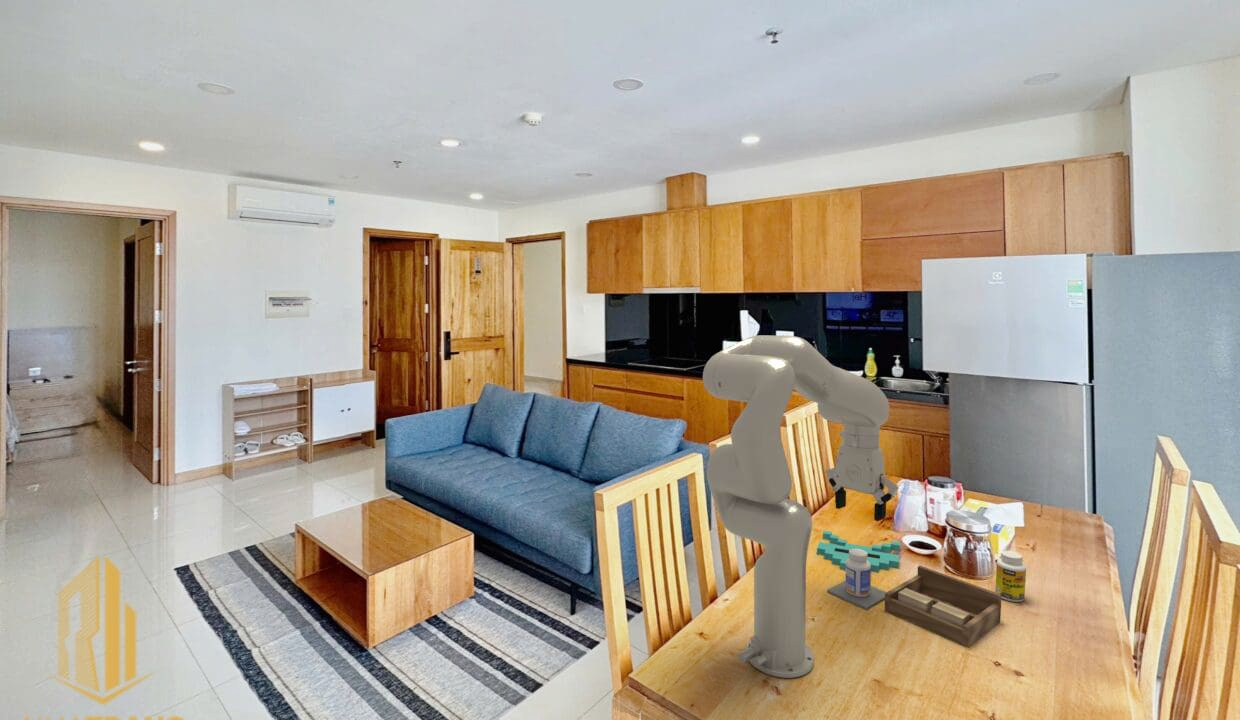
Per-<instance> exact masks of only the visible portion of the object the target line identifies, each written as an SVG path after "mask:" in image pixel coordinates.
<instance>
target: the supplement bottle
mask: <svg viewBox="0 0 1240 720" xmlns="http://www.w3.org/2000/svg"><path fill="white" fill-rule="evenodd" d="M1023 561H1024V559H1023V555H1022V554H1020V553H1019V552H1017V551H1012V550H1002V551H1001V553H1000V558H998V559H997V561H996V570H995V573H996V574H995V588H994V590H995V591H994V592H995V593H998V594H1001V600H1005V601H1009V602H1011V603H1020V602H1023V601H1024V600H1025V597H1026V596H1025V594H1026V581H1027V580H1026V578H1027V566H1026V564H1025V563H1024V562H1023Z"/></svg>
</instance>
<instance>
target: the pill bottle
mask: <svg viewBox="0 0 1240 720" xmlns="http://www.w3.org/2000/svg"><path fill="white" fill-rule="evenodd" d="M867 559H868V555H867V552H866V551H864V550H861V549H851V550H849V558H848V559H847V560H846V570H845V581H846V591H847V592H848V593H849V594H851V595H854V596H857V597H866V596H868V595H870V591H871V586H872V585H871V579H872V578H871V577H872V576H871V574H872V571H871V565H870V563H869V561H867Z"/></svg>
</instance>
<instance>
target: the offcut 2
mask: <svg viewBox="0 0 1240 720" xmlns="http://www.w3.org/2000/svg"><path fill="white" fill-rule="evenodd" d="M941 602H942V601H941ZM941 602H938V603H936V604H934V605H933V606H932V615H933V616H936V617H938V618H941V619H943V620H945V621H948V622H950V623H952V624H955V625H957V626H960V627H962V628H963V625H965V624H966V623H967V622H969V619H970V614H969V613H970V612H968V611H966V612H964V611H965V610H963V609H961V610H959V609H960V608H958V607H956V608H954V607H955V606H953V605H951V606H949V605H950V604H948V603H946V604H944V603H945V602H943V603H941ZM947 604H948V605H947ZM952 606H953V607H952ZM957 608H958V609H957ZM962 610H963V611H962ZM967 612H968V613H967Z"/></svg>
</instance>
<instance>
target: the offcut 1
mask: <svg viewBox="0 0 1240 720" xmlns="http://www.w3.org/2000/svg"><path fill="white" fill-rule="evenodd" d="M922 594H923V593H920V594H919V593H916V592H914V591H911V590H909V589H906V588H905V589H903V590H902V591H900V592H898V601H900V602H903V603H905V604H907V605H910V606H912V607H914V608H917V609H919V610H922V611H924V612H926V613H929V614H931V615H932V606H933V599H934V598H933V597H931V598H929V597H930V596H928V595H926V596H924V595H925V594H923V595H922ZM927 596H928V597H927ZM932 598H933V599H932Z"/></svg>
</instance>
